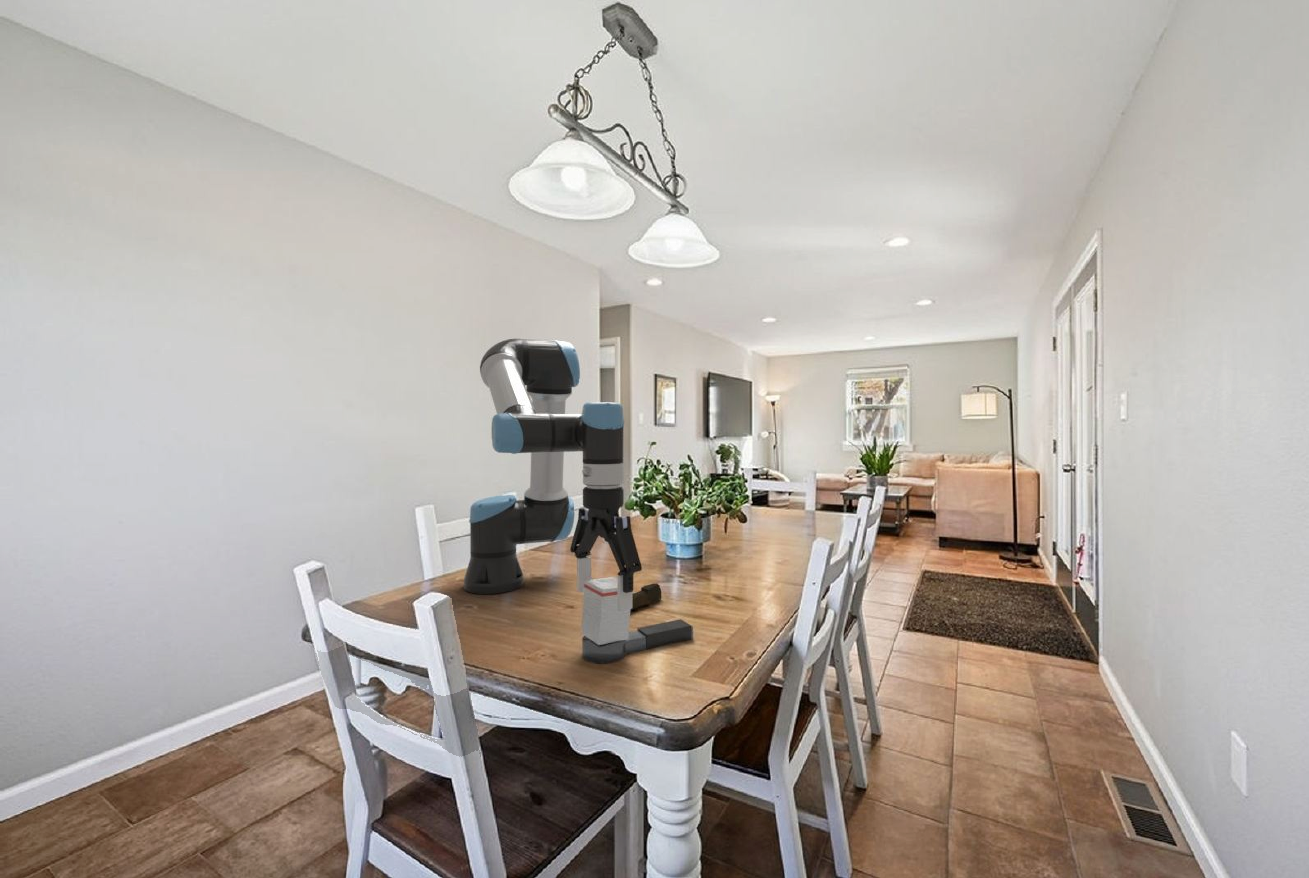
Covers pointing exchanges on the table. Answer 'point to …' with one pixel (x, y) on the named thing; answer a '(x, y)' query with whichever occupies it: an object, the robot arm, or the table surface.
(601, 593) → the red-striped grey block
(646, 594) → the hand tool
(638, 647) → the ratchet
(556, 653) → the table surface
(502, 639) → the table surface
